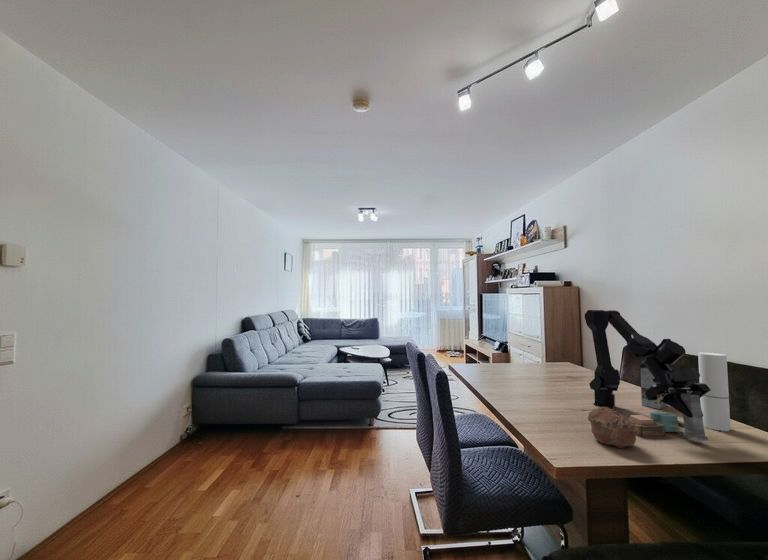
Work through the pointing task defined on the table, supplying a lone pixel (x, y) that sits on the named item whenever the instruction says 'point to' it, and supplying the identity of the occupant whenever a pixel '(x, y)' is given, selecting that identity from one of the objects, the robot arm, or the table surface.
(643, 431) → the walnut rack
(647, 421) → the block
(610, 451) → the table surface
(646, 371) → the coffee box
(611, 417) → the decorative rock
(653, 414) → the grey teal angled piece
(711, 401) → the cylindrical container
